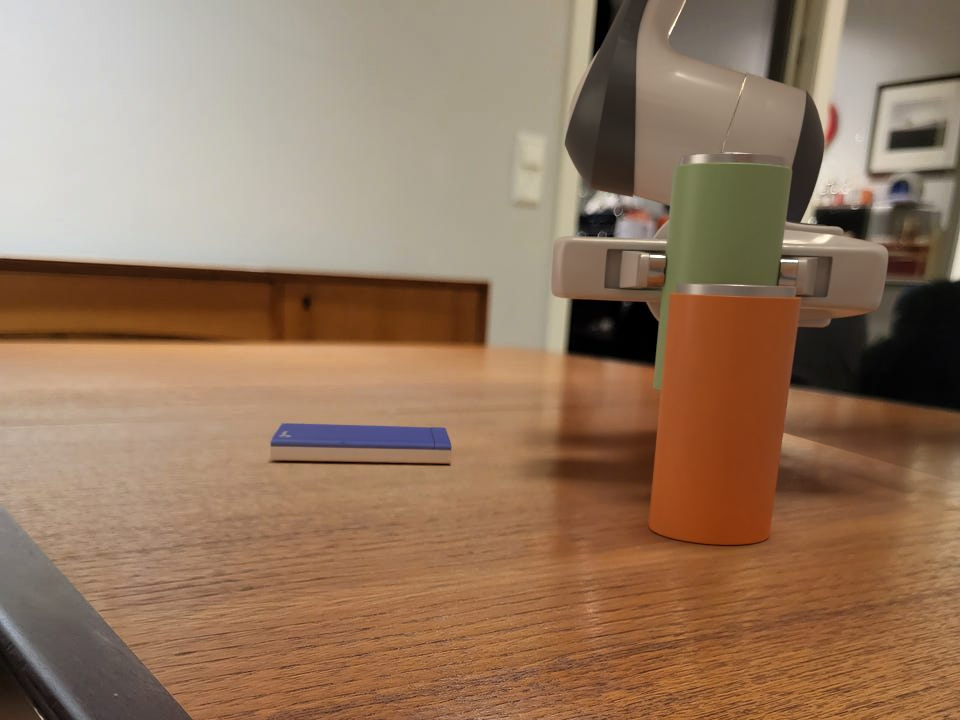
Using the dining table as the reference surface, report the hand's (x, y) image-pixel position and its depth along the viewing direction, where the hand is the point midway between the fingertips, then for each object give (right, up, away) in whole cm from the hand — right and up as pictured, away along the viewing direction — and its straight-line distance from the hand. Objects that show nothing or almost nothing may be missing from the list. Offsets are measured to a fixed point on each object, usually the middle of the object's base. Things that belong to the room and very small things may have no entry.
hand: (722, 272), depth 56 cm
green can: (0, -6, +3) cm, 7 cm away
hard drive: (-22, -7, +17) cm, 29 cm away
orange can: (-1, -15, -2) cm, 15 cm away
